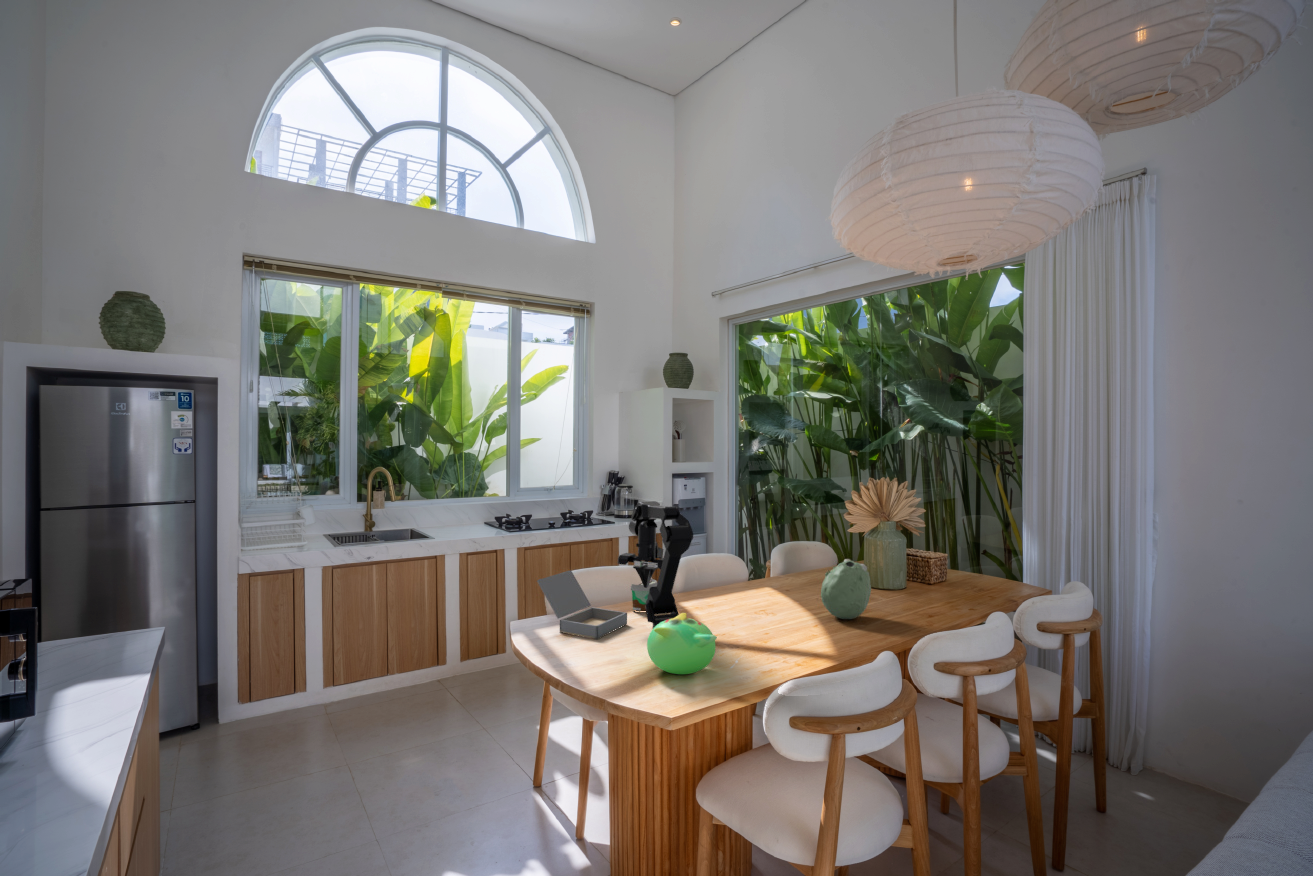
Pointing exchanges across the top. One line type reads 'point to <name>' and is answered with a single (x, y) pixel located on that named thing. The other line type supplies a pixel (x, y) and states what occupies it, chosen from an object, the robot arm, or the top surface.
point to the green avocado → (846, 589)
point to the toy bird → (681, 645)
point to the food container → (641, 595)
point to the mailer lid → (564, 593)
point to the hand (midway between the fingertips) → (646, 587)
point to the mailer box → (593, 622)
